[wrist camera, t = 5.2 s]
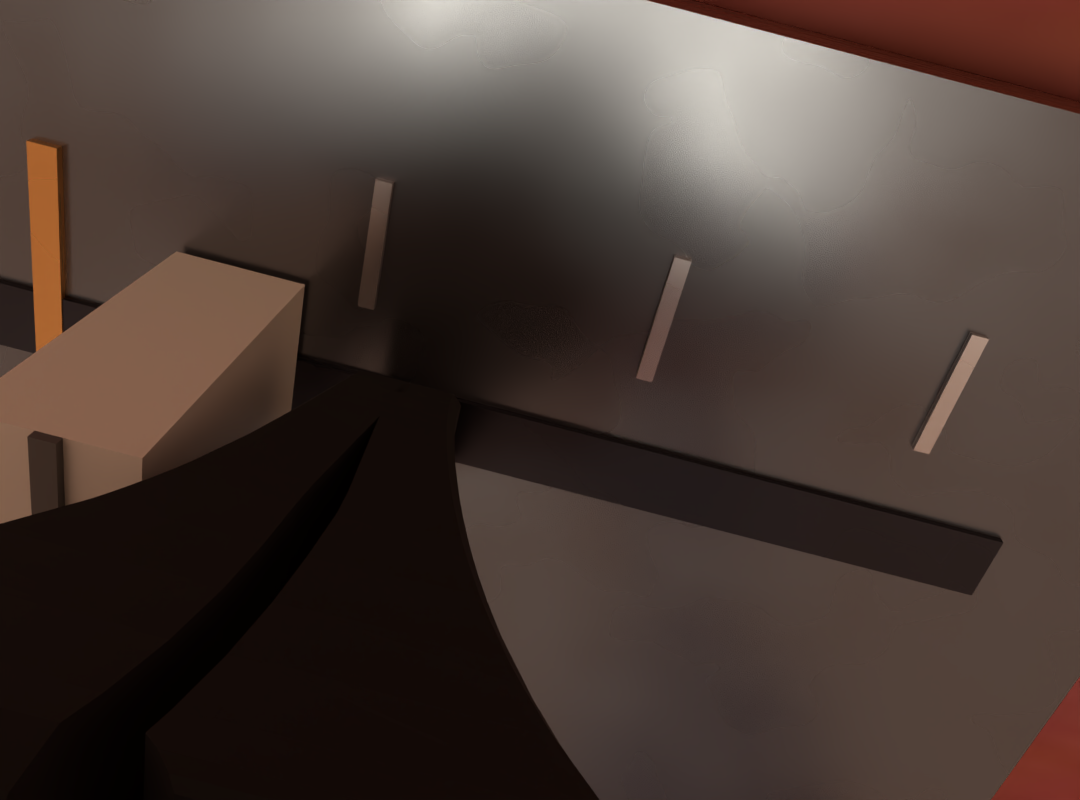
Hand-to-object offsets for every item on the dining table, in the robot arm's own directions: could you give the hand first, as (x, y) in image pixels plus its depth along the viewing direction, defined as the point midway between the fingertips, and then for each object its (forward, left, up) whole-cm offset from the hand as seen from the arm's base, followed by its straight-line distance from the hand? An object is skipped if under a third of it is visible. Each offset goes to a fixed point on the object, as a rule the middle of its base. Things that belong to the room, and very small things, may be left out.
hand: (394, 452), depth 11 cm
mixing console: (-3, +1, -2) cm, 4 cm away
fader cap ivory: (0, +2, -1) cm, 3 cm away
